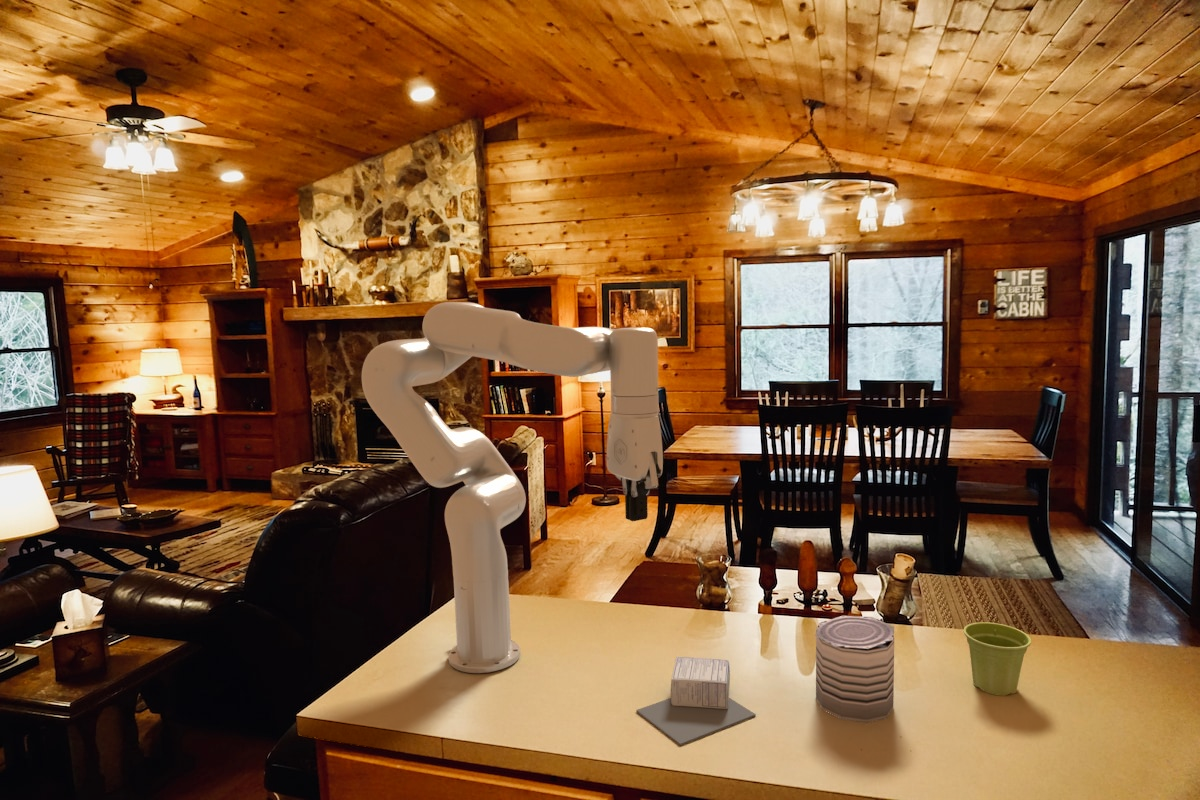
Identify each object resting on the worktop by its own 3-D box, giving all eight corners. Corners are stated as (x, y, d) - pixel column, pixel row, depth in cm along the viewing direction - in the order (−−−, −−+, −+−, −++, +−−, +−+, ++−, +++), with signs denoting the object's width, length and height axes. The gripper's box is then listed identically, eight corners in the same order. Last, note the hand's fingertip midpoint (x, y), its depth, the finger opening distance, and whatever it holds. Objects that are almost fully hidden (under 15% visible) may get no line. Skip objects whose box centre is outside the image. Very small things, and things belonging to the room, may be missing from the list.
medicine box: (670, 706, 116) (728, 711, 114) (670, 678, 116) (728, 682, 114) (676, 681, 124) (730, 685, 122) (675, 655, 123) (729, 659, 122)
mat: (636, 711, 115) (636, 710, 115) (708, 686, 123) (708, 684, 123) (680, 745, 106) (680, 743, 106) (755, 716, 113) (755, 714, 113)
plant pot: (1026, 678, 122) (1028, 627, 121) (1032, 706, 114) (1033, 651, 113) (962, 669, 126) (963, 618, 125) (962, 695, 118) (963, 641, 117)
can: (895, 727, 109) (896, 647, 108) (813, 716, 113) (813, 639, 111) (892, 690, 120) (893, 617, 118) (817, 681, 123) (817, 610, 122)
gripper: (590, 403, 125) (593, 512, 127) (641, 412, 112) (643, 534, 114) (629, 400, 128) (630, 506, 130) (682, 408, 116) (683, 526, 118)
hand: (636, 518), depth 122 cm, fingers closed
